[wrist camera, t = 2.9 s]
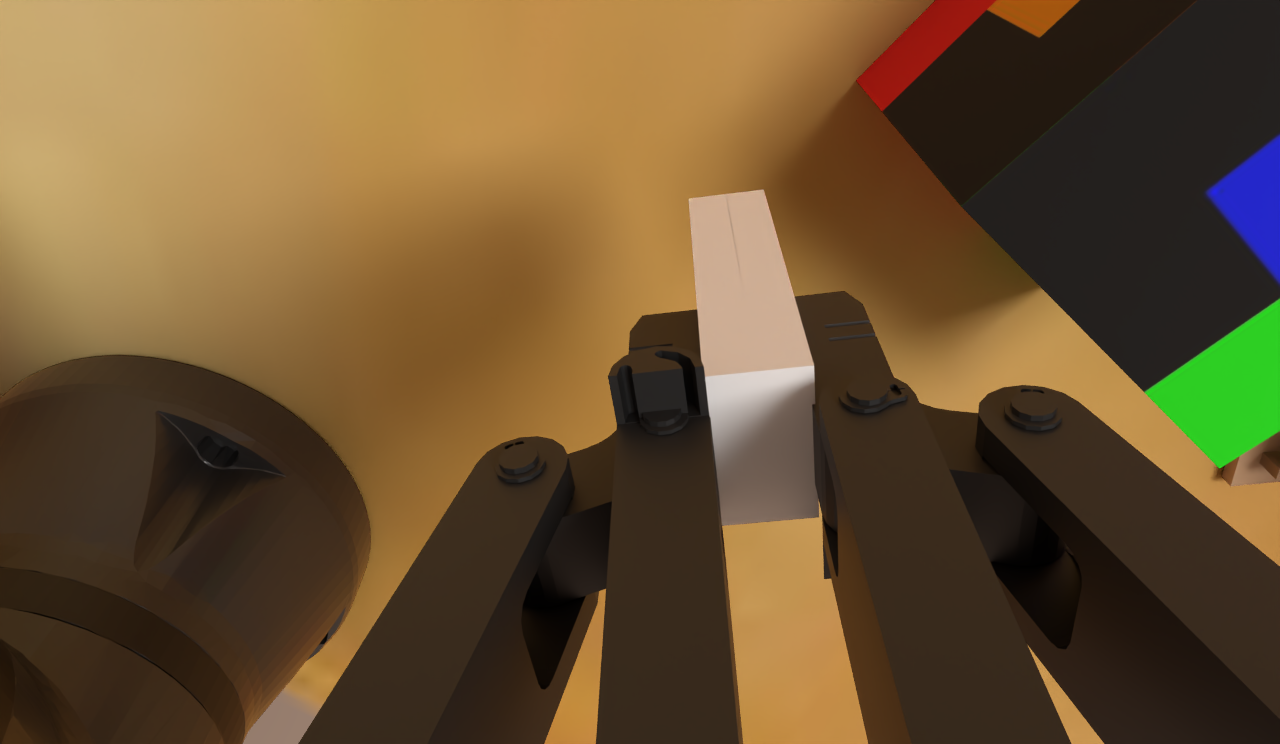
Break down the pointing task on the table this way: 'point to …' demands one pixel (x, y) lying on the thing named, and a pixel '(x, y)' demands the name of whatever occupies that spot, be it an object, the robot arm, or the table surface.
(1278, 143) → the puzzle toy
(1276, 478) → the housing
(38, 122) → the table surface
